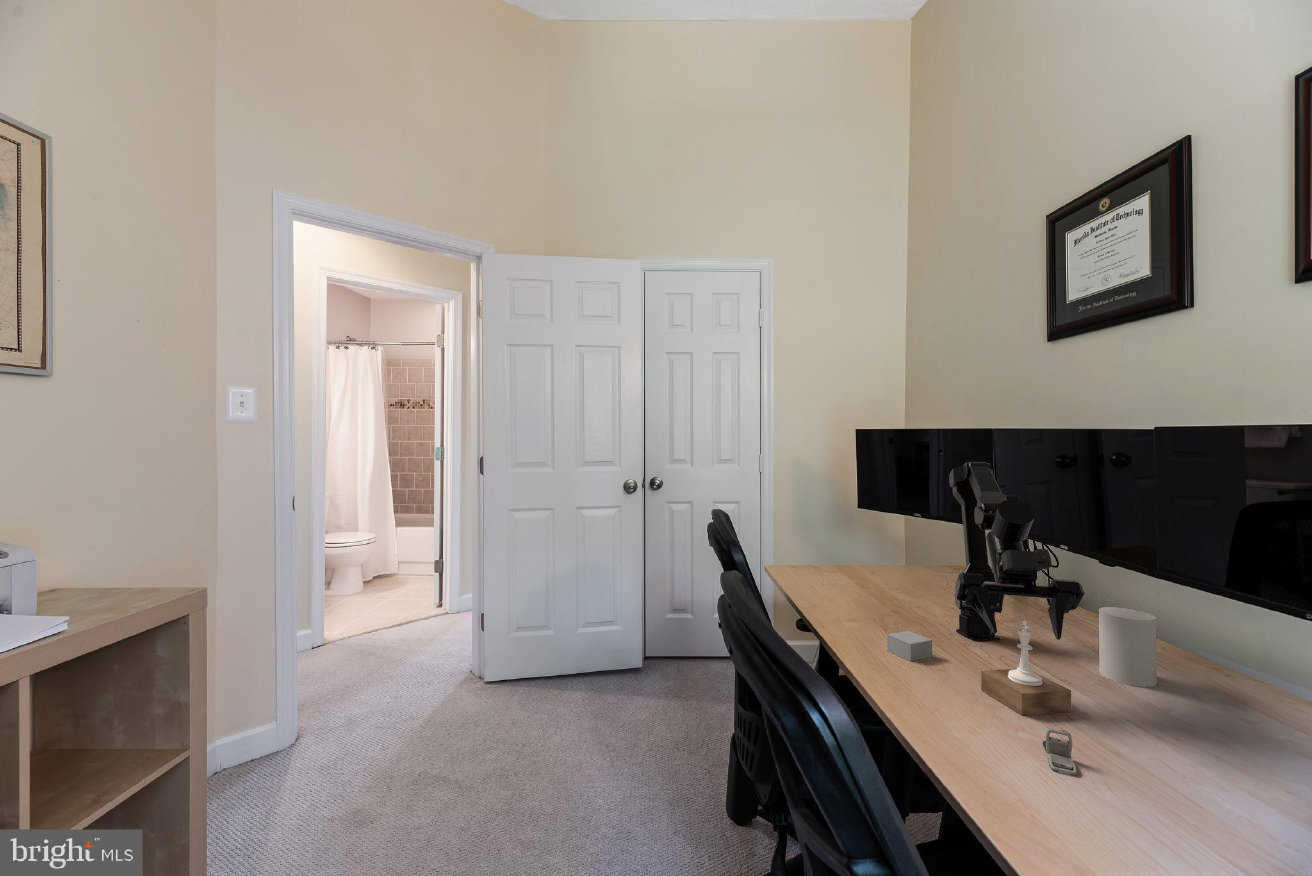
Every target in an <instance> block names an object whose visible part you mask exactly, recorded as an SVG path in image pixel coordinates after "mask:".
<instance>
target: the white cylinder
mask: <svg viewBox="0 0 1312 876" xmlns="http://www.w3.org/2000/svg"><path fill="white" fill-rule="evenodd" d="M1098 623H1099V624H1098V625H1099V627H1098V628H1099V629H1098V634H1099V635H1098V641H1099V643H1098V645H1099V648H1098V649H1099V650H1098V652H1099V656H1098V657H1099V658H1098V659H1099V662H1098V663H1099V667H1098V668H1099V674H1100V675H1101V676H1103V677H1104V678H1106V679H1108V680H1111V681H1114V682H1116V683H1120V684H1124V685H1129V686H1133V687H1141V688H1143V687H1144V688H1151V687H1155V686H1157V617H1156V616H1154V615H1153V614H1151V613H1148V612H1145V611H1141V610H1137V609H1132V608H1126V607H1118V606H1117V607H1116V606H1115V607H1114V606H1105V607H1104V606H1103V607H1100V608H1099V609H1098Z"/></svg>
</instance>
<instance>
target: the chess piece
mask: <svg viewBox="0 0 1312 876" xmlns="http://www.w3.org/2000/svg"><path fill="white" fill-rule="evenodd" d="M1019 627H1022V629H1020V630H1018V631H1017V635H1018V637H1019V640H1020V643H1017V645H1016V647H1017V648H1019V649H1021V651H1020V658H1019V659H1020V660H1019V664H1018V667H1016V669H1017V670H1011V671H1009V672H1008V674H1009V675H1008V678H1009V679H1010V680H1012V681H1014V682H1016V683H1019V684H1023V685H1028V686H1039V685H1042V678H1041V677H1040V676H1039V675H1040V674H1039V675H1037V674H1038V673H1037V674H1035V673H1036V672H1035V673H1033V672H1034V670H1032V669H1031V663H1030V656H1029V651H1031V650H1033V647H1032V645H1030V644H1029V643H1030V639H1031V638H1032V635H1033V634H1032V633H1031V632H1030V631H1028V630H1029V629H1030V626H1029V625H1028V624H1027V620H1022V621H1021V622H1020V623H1019Z"/></svg>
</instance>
